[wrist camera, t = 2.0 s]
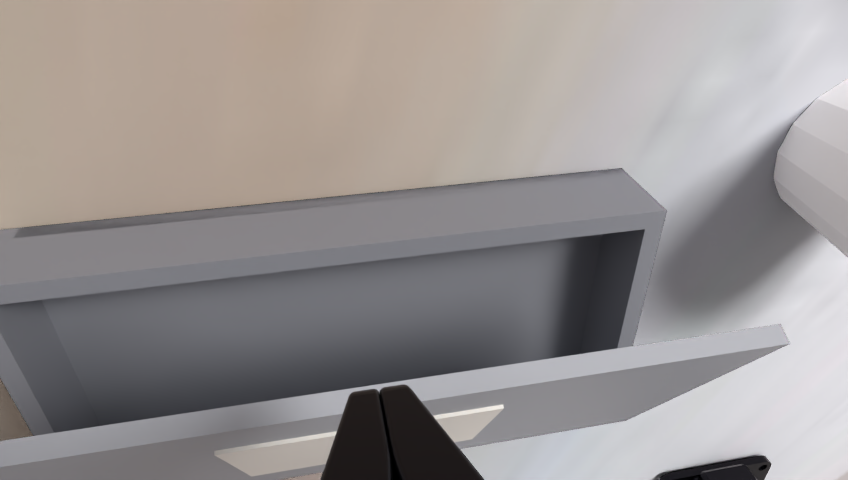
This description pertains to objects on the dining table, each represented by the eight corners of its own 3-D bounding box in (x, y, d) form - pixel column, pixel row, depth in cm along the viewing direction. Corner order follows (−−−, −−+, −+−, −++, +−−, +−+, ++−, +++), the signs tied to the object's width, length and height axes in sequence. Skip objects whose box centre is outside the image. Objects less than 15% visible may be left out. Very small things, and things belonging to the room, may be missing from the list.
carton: (585, 355, 26) (617, 408, 23) (93, 429, 22) (69, 499, 20) (621, 168, 21) (667, 210, 18) (-2, 230, 18) (-50, 291, 15)
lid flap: (621, 407, 23) (626, 423, 23) (63, 500, 20) (62, 519, 20) (780, 324, 14) (792, 347, 14) (-178, 467, 11) (-188, 502, 11)
